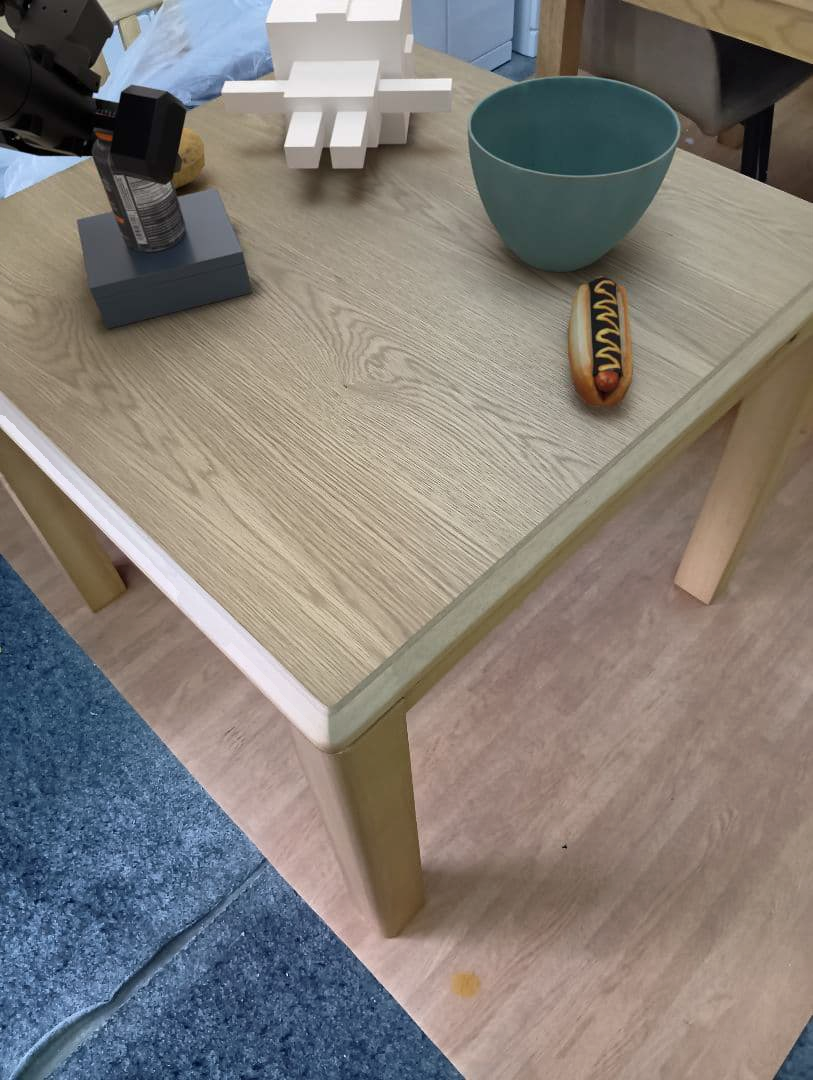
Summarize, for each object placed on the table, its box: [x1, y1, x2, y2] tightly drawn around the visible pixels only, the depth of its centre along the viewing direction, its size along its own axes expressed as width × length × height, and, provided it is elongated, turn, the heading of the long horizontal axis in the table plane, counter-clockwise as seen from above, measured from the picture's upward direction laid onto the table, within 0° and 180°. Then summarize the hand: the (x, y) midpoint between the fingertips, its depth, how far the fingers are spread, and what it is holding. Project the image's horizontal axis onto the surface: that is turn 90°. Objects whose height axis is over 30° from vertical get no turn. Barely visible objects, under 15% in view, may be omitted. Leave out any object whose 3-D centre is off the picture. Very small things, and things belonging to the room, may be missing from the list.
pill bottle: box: [91, 113, 186, 252], centre depth 70 cm, size 6×6×11 cm
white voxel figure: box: [220, 0, 453, 169], centre depth 87 cm, size 15×25×28 cm
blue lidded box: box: [76, 187, 253, 330], centre depth 76 cm, size 14×12×4 cm
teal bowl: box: [467, 75, 682, 273], centre depth 73 cm, size 18×18×12 cm
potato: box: [172, 126, 206, 190], centre depth 86 cm, size 7×11×6 cm, turn 94°
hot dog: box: [567, 275, 634, 408], centre depth 66 cm, size 5×13×5 cm, turn 174°
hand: (143, 157), depth 70 cm, fingers open, 8 cm apart
